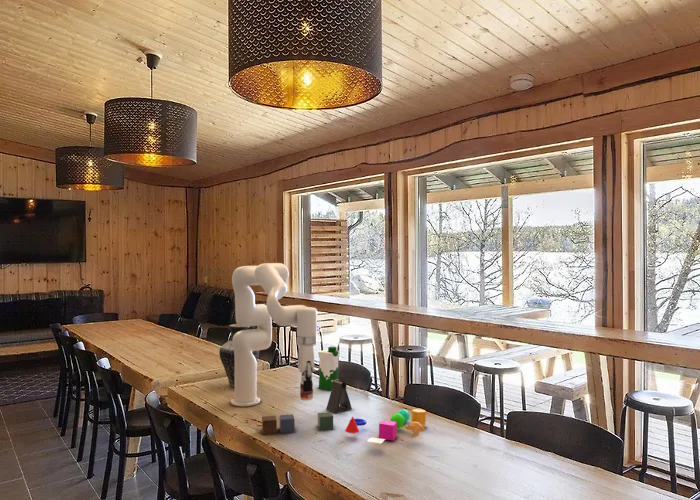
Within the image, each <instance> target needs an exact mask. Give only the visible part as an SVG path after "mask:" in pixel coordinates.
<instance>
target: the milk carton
mask: <svg viewBox="0 0 700 500" xmlns="http://www.w3.org/2000/svg"><path fill="white" fill-rule="evenodd" d="M337 349H338V348H337V347H336V346H328V348H326V349H323V350H318V351H317V354H318V360H319V361H318V363H319V364H318V365H319V366H318V367H319V368H318V369H319V370H318V371H319V372H318V373H319V374H318V375H319V376H318V389H321V390H323V391H324V390H325V391H329V392H331V390H332V382H333V380H336V381H337V380H339V358H340V355H341V354H340V353H341V351H340V350H337Z"/></svg>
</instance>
